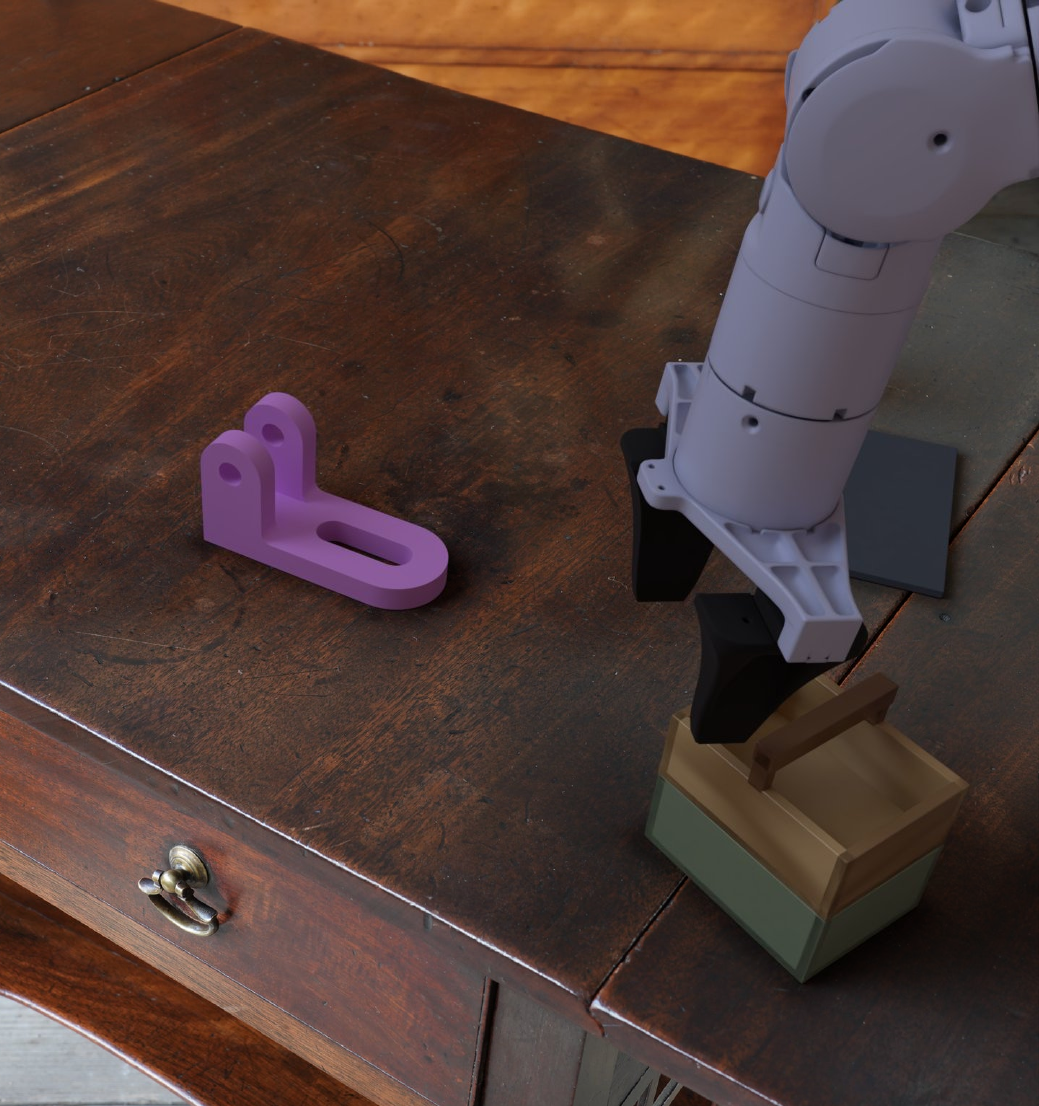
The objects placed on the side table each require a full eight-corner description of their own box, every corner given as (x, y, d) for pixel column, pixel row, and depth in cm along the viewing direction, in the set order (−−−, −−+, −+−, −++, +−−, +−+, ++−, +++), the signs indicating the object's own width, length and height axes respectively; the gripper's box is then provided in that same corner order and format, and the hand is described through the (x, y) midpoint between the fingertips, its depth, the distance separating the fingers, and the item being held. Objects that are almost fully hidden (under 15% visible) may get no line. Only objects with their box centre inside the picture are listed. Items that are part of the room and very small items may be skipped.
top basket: (944, 843, 58) (986, 748, 55) (825, 922, 55) (861, 827, 52) (774, 707, 64) (802, 614, 60) (657, 772, 61) (679, 678, 57)
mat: (941, 598, 76) (944, 591, 75) (784, 561, 78) (786, 554, 78) (955, 454, 86) (957, 447, 85) (815, 425, 88) (817, 418, 88)
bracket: (204, 539, 79) (199, 434, 75) (258, 487, 83) (257, 383, 78) (416, 623, 74) (424, 515, 70) (464, 563, 78) (475, 457, 73)
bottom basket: (917, 906, 61) (945, 844, 58) (801, 984, 58) (825, 922, 55) (756, 770, 66) (775, 708, 64) (643, 835, 63) (658, 772, 61)
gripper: (617, 258, 53) (544, 542, 62) (754, 511, 42) (641, 812, 51) (800, 262, 54) (702, 541, 63) (980, 510, 43) (831, 806, 52)
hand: (686, 663), depth 57 cm, fingers open, 7 cm apart
